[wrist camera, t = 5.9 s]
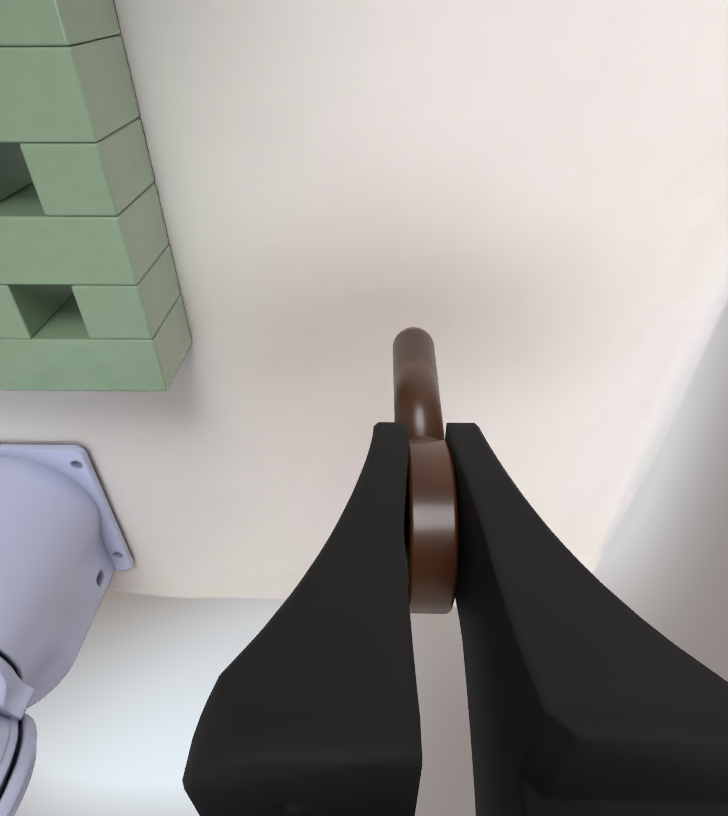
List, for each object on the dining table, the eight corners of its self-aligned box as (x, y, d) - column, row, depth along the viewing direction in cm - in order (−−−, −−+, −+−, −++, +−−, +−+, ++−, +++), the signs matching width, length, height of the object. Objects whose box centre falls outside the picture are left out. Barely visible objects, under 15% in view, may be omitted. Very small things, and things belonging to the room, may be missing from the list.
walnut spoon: (437, 283, 15) (474, 555, 9) (428, 380, 18) (452, 643, 12) (394, 283, 15) (403, 554, 9) (390, 380, 18) (396, 642, 12)
